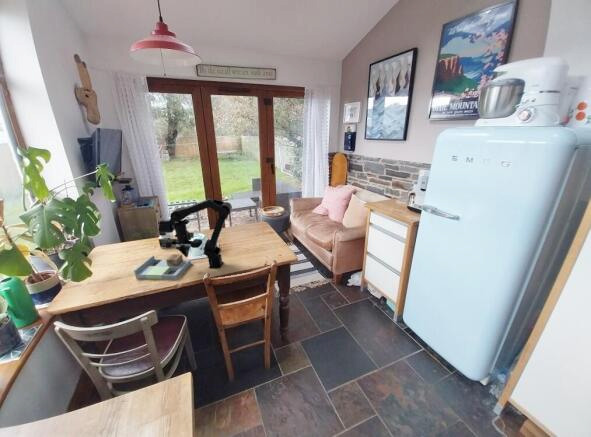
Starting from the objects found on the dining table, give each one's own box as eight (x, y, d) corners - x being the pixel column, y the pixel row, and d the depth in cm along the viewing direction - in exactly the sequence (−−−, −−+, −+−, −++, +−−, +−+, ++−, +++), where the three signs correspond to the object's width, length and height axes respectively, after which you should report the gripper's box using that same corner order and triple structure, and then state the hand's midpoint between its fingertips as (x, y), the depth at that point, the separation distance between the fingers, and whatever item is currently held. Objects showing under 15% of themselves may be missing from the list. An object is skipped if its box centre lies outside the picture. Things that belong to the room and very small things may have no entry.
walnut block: (183, 260, 142) (181, 254, 140) (177, 266, 136) (176, 259, 135) (173, 260, 142) (171, 254, 141) (167, 265, 136) (166, 259, 135)
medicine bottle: (160, 248, 162) (156, 232, 158) (162, 243, 168) (159, 228, 164) (172, 246, 164) (168, 230, 159) (173, 242, 170) (170, 226, 166)
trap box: (191, 263, 143) (189, 256, 141) (176, 279, 128) (175, 271, 126) (154, 262, 145) (152, 255, 143) (136, 278, 130) (133, 270, 128)
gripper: (204, 225, 138) (208, 250, 144) (173, 225, 140) (178, 249, 145) (195, 234, 128) (200, 259, 133) (161, 233, 129) (168, 259, 135)
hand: (186, 256), depth 137 cm, fingers closed
